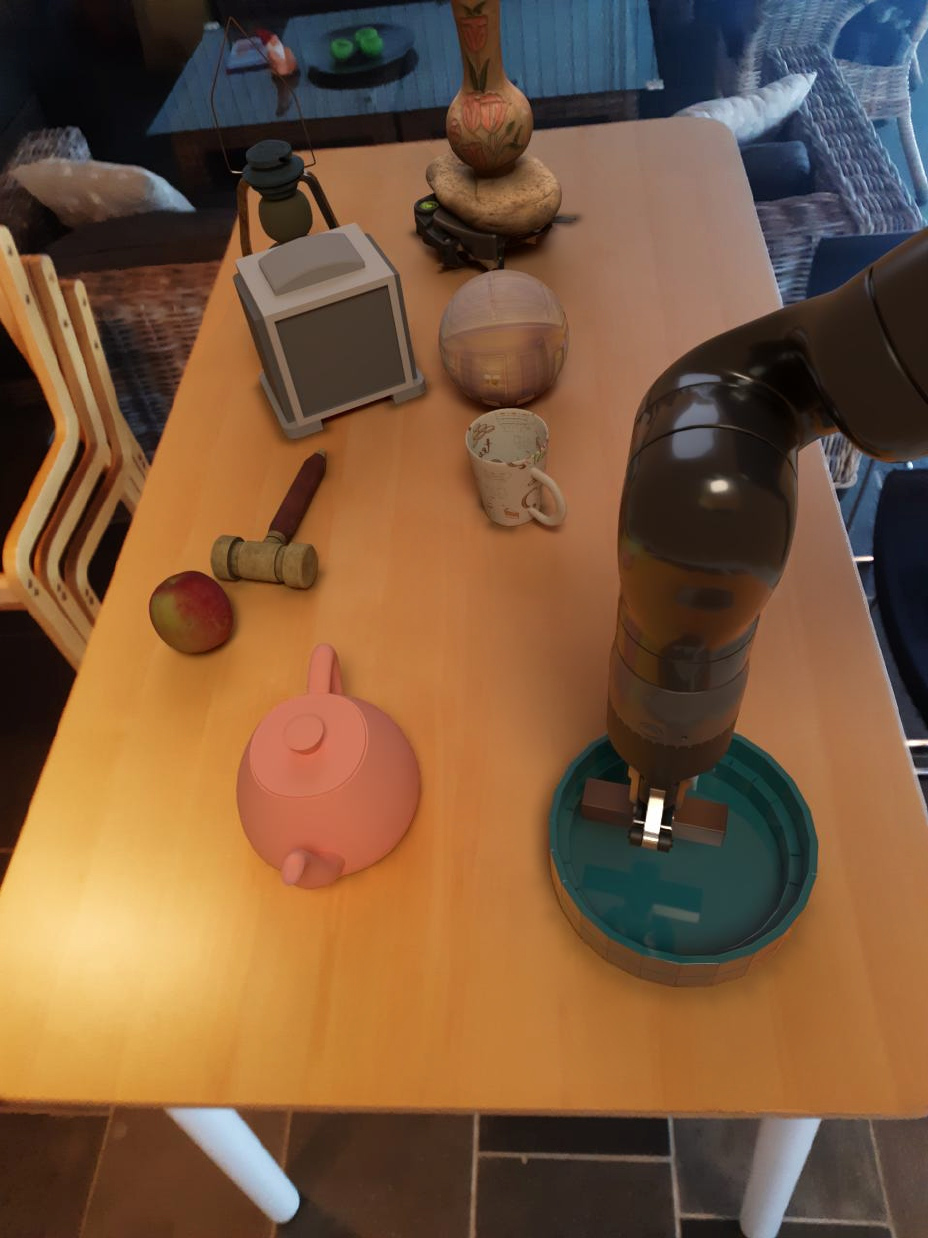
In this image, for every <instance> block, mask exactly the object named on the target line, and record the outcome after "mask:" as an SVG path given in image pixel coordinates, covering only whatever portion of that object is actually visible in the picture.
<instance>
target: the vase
mask: <svg viewBox="0 0 928 1238" xmlns="http://www.w3.org/2000/svg"><path fill="white" fill-rule="evenodd" d="M449 2H450V6H451V10H452V15H453V19H454V23H455V27H456V33H457V38H458V44H459V49H460V56H461V62H462V74H463V75H462V84H461V87H460V89H459V91H458V93H457V94H456V96H455V97H454V99H453V100H452V101H451V103H450V105H449V108H448V110H447V114H446V120H445V129H446V130H445V131H446V136H447V140H448V143H449V146H450V148H451V150H452V151H450V152H446V153H444V154H441V155H438V156H437V157H435V158H434V159H433V160H432V161H431V162H429V164H428V166H427V167H426V169H425V181H426V183H427V184H428V186H429V187H430V189H431V190H432V191H433V193H430V194H427V195H426V196H423V197H422V198H420V199H418V200H417V201H416V202H415V203H414V204H413V215H414V222H415V234H417V235H419V236H421V240H422V242H423V244H424V245H426V246H428V247H431V248H432V249H434V250H435V251H436V252H437V253H438V255H439V257H440V259H441V263H439V264H438V263H437V264H436V267H437V268H443V267H451V268H453V269H459V268H464V267H466V266H468V263H467V262H468V261H476V262H479V263H480V264H481V265H483V266H484V267H485V268H487V269H488V272H490V271H494V270H493V269H496V270H505V254H504V251H505V249H507V248H511V247H516V246H519V245H522V244H532V245H537V239H536V238H537V237H538V236H540V235H543V234H546V233H547V232H548V231H550V230H551V229H552V228H553V227H554V225H553V223H566V224H570V223H572V222H573V220H575V221H576V220H577V218H576V217H574V218H573V217H572V218H571V217H566V216H561V215H557V214H558V212H559V210H560V209H561V205H562V200H563V199H562V198H563V190H562V185H561V183H560V181H559V179H558V178H557V176H556V175H555V174H554V173H553V172H552V171H551V170H550V169H549V168H548V167H547V166H546V164H545V163H544V162H543V161H542V160H541V159H540V158H537V157H536V156H534V155H531V154H528V153H525V152H526V150H527V148H528V146H529V144H530V142H531V140H532V135H533V131H534V130H533V129H534V116H533V111H532V108H531V105H530V103H529V100H528V99H527V97H526V96H525V94H524V93H523V92H522V91H521V90H520V89H519V88H518V87H516V86H515V85H514V84H513V83H512V82H511V81H510V80H509V79H508V77H507V75H506V71H505V67H504V61H503V53H502V39H501V38H502V37H501V0H449ZM519 235H521V236H519ZM458 252H464V253H465V254H466V255H467V256H468V258H467V259H466V260H465V261H464V260H462V259H461V258H460V257H459V256H458Z"/></svg>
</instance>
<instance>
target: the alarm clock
mask: <svg viewBox="0 0 928 1238" xmlns="http://www.w3.org/2000/svg"><path fill="white" fill-rule="evenodd" d="M309 235H310V236H305V237H301V238H298V239H295V240H293V241H290V242H288V243H285V244H283V245H281V246H278V247H274V248H271V249H269V248H268V249H266V250H262V251H259V252H255V253H253V254H252V255H249V256H246V257H243V256H242V257H240V258H237V259H234V260H233V262H234V264H235V267H236V270H237V273H234V274H233V275H232V281H233V283H234V286H235V289H236V292H237V295H238V298H239V301H240V305H241V307H242V310H243V313H244V316H245V319H246V323H247V325H248V329H249V332H250V334H251V337H252V340H253V343H254V346H255V350H256V352H257V355H258V358H259V361H260V364H261V367H262V369H263V371H262V372H260V373H259V376H258V379H259V381H260V385H261V387H262V390H263V392H264V394H265V396H266V398H267V400H268V402H269V404H270V407H271V409H272V411H273V413H274V415H275V417H276V420H277V421H278V424H279V425H280V428H281V430H282V432H283V434H284V436H285V438H287V439H289V440H299V439H302V438H304V437H307V436H310V435H313V434H315V433H318V432H321V431H324V427H323V424H322V420H323V419H326V418H329V417H331V416H334V415H337V414H340V413H342V412H345V411H349V410H351V409H352V410H353V409H354V408H356V407H361V406H363V405H366V404H368V403H371V402H374V401H377V400H380V399H383V398H385V397H388V396H389V397H390V398H391V401H392V402H393V403H394V405H398V404H400V403H403V402H406V401H409V400H412V399H415V398H417V397H421V396H423V394H425V392H426V387H427V386H426V381H425V376H424V375H423V374H422V372H421V371H420V369H419V367H418V366H417V365H416V361H415V355H414V349H413V344H412V339H411V332H410V326H409V320H408V316H407V309H406V303H405V298H404V292H403V286H402V281H401V274H400V272H399V271H398V270H397V268H396V267H395V266H394V264H393V263H392V262H391V261H390V259H389V258H388V256H387V255H386V254H385V253H384V251H383V250H382V248H381V247H380V246H379V245H378V243H377V242H376V240H375V239H374V238H373V236H372V235H371V234H370V233H367V232H365V233H364V232H363V230H362V229H361V227H360V226H359V225H358V223H356V221H355V222H354V221H353V222H352V223H348V224H345V225H341V226H340V227H338V228H335V229H332V230H330V229H329V230H326V231H322V232H319V233H316V234H309Z"/></svg>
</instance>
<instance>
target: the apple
mask: <svg viewBox="0 0 928 1238" xmlns="http://www.w3.org/2000/svg"><path fill="white" fill-rule="evenodd" d="M148 613H149V619H150V622H151V624H152V627H153V629H154V631H155V633H156V634H157V636H158V637H159V638H160V639H161V640H162V641H163V642H164V643H165V644H166V645H167V646H169V647H170V648H172V649H174V651H177V652H180V653H186V654H198V653H203V652H207V651H209V650H212V649H215V648H216V647H218V646H220V645H221V644H222V643H224V642H226V640H227V639H228V638H229V637H230V636H231V633H232V631H233V626H234V612H233V607H232V604H231V601H230V599H229V597H228V594H227V593H226V592H225V590H224V589H223V587H222V586H221V585H220V584H219V583H218V582H217V581H216V580H215V579H214V578H212V576H209V575H208V574H206V573H204V572H201V571H198V570H185V571H181V572H179V573H175V574H173V575H170V576H169V577H167V578H165V579H164V580H162V582H161V583H159V584H158V585H157V586H156V587H155V589H154V590H153V592H152V593H151V596H150V598H149V601H148Z"/></svg>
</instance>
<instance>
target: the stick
mask: <svg viewBox="0 0 928 1238" xmlns="http://www.w3.org/2000/svg"><path fill="white" fill-rule="evenodd" d="M630 790H631V786H628V785H623V784H618V783H612V782H607V781H602V780H597V779H592V778H587V779H586V784H585V789H584V794H583V799H582V803H581V818H582V819H587V820H592V821H596V822H601V823H606V824H611V825H616V826H621V827H626V828H631V826H632V824H633V818H634V817H635V814H633V811H634V806H635V807H636V805H635V804H634V803H632V802H631V801H630V799H629V798H630ZM673 814H675V817H674V822H671V824H672V825H673V828H672V837H675V838H679V839H684V840H689V841H694V842H699V843H704V844H709V845H714V846H718V847H721V846H722V843H723V840H724V837H725V834H726V826H727V816H728V805H726V804H721V803H716V802H711V801H705V800H700V799H695V798H690V797H685V798H684V803H683V808H682V810H681V811H680V812H674V813H673Z"/></svg>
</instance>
